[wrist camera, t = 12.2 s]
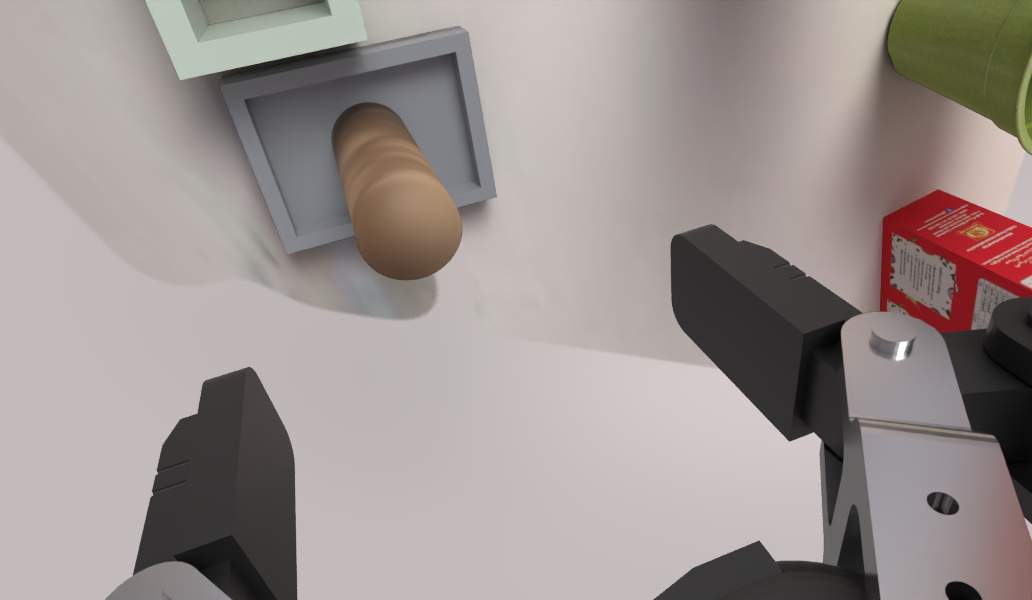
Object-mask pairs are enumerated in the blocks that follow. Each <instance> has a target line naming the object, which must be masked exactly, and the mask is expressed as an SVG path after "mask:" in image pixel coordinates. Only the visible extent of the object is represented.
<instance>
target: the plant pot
mask: <svg viewBox="0 0 1032 600" xmlns="http://www.w3.org/2000/svg"><path fill="white" fill-rule="evenodd" d="M888 52H889V54H890V56H891V59H892V62H893V65H894V69H895V70H896V71H897V72H898V73H899V74H901V75H903V76H905V77H906V78H908V79H910V80H912V81H914V82H916V83H918V84H920V85H922V86H924V87H926V88H929V89H931V90H933V91H935V92H937V93H939V94H941V95H943V96H945V97H947V98H949V99H951V100H953V101H955V102H957V103H959V104H961V105H962V106H964V107H966V108H968V109H970V110H972V111H974V112H976V113H978V114H980V115H982V116H984V117H986V118H988V119H990V120H992V121H993V123H994V124H995V125H996V126H997V127H999V128H1000V129H1002V130H1004V131H1006V132H1007V133H1009V134H1011V135H1013V136H1015V137H1017V138H1018V140H1019V143H1020V144H1021V146H1022V147H1023V148H1024V150H1025V151H1026V152H1028V153H1029V154H1030V155H1032V0H901V2H900V4H899V6H898V7H897V10H896V12H895V14H894V17H893V19H892V22H891V26H890V30H889V35H888Z"/></svg>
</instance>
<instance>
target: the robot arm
mask: <svg viewBox="0 0 1032 600" xmlns="http://www.w3.org/2000/svg"><path fill="white" fill-rule="evenodd" d="M671 294H672V307H673V311H674V314H675V317H676V319H677V322H678V324H679V325H680V327H681V328H682V330H683V331H684V332H685V333H686V334H687V335H688V336H689V337H690V338H691V339H692V340H693V341H694V343H695V344H696V345H697V346H698V347H699V348H700V349H701V350H702V351H703V352H704V353H705V354H706V355H707V356H708V357H709V358H710V359H711V360H712V361H713V362H714V363H715V364H716V365H717V367H718V368H719V369H720V370H721V371H722V372H723V373H724V374H725V375H726V376H727V377H728V378H729V379H730V380H731V381H732V382H733V383H734V384H735V385H736V386H737V387H738V388H739V389H740V391H741V392H742V393H743V394H744V395H745V396H746V397H747V398H748V399H749V400H750V401H751V402H752V403H753V404H754V405H755V406H756V407H757V408H758V409H759V410H760V411H761V412H762V413H763V415H764V416H765V417H766V418H767V419H768V420H769V421H770V422H771V423H772V424H773V425H774V426H775V427H776V428H777V429H778V430H779V431H780V432H781V433H782V434H783V435H784V436H785V437H786V438H787V440H788V441H792V440H795V439H797V438H800V437H803V436H805V435H808V434H810V433H813V432H814V433H815V434H816V435H817V436H818V437H819V438H820V439H822V442H821V448H820V470H821V491H822V511H823V532H824V555H823V563H818V562H809V561H777V562H775V560H774V559H773V558H772V557H771V555H770V554H769V553H768V551H767V550H766V549H765V547H764V546H763V545H762V544H761V542H760V541H757V542H755V543H752V544H750V545H747V546H745V547H743V548H740V549H738V550H735V551H733V552H731V553H728V554H726V555H723V556H721V557H719V558H716V559H714V560H712V561H709V562H706V563H704V564H702V565H699V566H697V567H694V568H693V569H691V570H690V571H689V572H688V573H686V574H685V575H684V576H683V577H681V578H680V579H679V580H677V581H676V582H675V583H674V584H672V585H671V586H670V587H669V588H667V589H666V590H665V591H664V592H663V593H661V594H660V595H659V596H657V597H656V598H655V599H654V600H1032V540H1031V537H1030V534H1029V531H1028V528H1027V525H1026V522H1025V519H1024V518H1026V519H1027V520H1028V521H1029V522H1030V523H1031V524H1032V297H1019V298H1013V299H1009V300H1006V301H1003V302H1001V303H1000V304H998V305H997V306H996V307H995V308H994V310H993V312H992V315H991V318H990V321H989V324H988V327H987V328H986V329H976V330H965V331H955V332H944V333H939V332H938V331H937V330H936V329H935V328H933V327H932V326H930V325H929V324H927V323H925V322H923V321H921V320H919V319H916V318H914V317H911V316H907V315H904V314H899V313H893V312H869V313H862V312H861V311H859V310H858V309H856V308H855V307H853V306H852V305H850V304H849V303H847V302H846V301H845V300H843V299H842V298H840V297H839V296H837V295H836V294H834V293H833V292H832V291H830V290H829V289H827V288H826V287H824V286H823V285H821V284H820V283H818V282H817V281H816V280H814V279H813V278H811V277H810V276H808V277H806V275H805V273H804V272H803V271H801V270H800V269H798V268H797V267H795V266H794V265H792V266H790V264H789V262H788V261H787V260H785V259H784V258H782V257H781V256H779V255H778V254H776V253H775V252H773V251H772V250H771V249H768V248H765V247H762V246H759V245H756V244H753V243H750V242H747V241H744V240H743V241H740V242H738V241H736V240H735V239H734V238H732V237H731V236H729V235H728V234H727V233H725V232H724V231H723V230H721V229H720V228H718V227H717V226H715V225H712V224H710V225H706V226H703V227H700V228H697V229H694V230H690V231H687V232H684V233H681V234H678V235H675V236H674V237H673V239H672V241H671ZM294 465H295V463H294V455H293V450H292V446H291V442H290V439H289V436H288V433H287V431H286V429H285V427H284V425H283V423H282V421H281V419H280V417H279V415H278V413H277V412H276V410H275V408H274V406H273V404H272V402H271V400H270V398H269V396H268V394H267V393H266V391H265V389H264V387H263V385H262V383H261V381H260V379H259V377H258V376H257V374H256V372H255V371H254V370H253V369H252V368H251V367H247V368H244V369H241V370H238V371H234V372H231V373H228V374H225V375H222V376H219V377H215V378H212V379H209V380H206V381H204V383H203V386H202V391H201V397H200V402H199V409H198V414H195V415H192V416H189V417H186V418H183V419H180V421H179V422H178V424H177V425H176V426H175V428H174V429H173V431H172V432H171V434H170V435H169V437H168V438H167V439H166V441H165V443H164V444H163V446H162V450H161V454H160V459H159V463H158V468H157V472H158V475H156V476H155V481H154V485H153V489H152V492H153V496H152V497H151V499H150V502H149V507H148V511H147V516H146V520H145V524H144V529H143V533H142V538H141V542H140V546H139V551H138V555H137V559H136V564H135V569H134V573H133V576H132V577H130V578H129V579H127V580H126V581H125V582H124V583H122V584H121V585H120V586H118V587H117V588H116V589H115V590H114V591H113V592H112V593H111V594H110V595H109V596H108V597H107V598H106V600H297V564H296V515H295V514H296V513H295V466H294Z"/></svg>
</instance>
